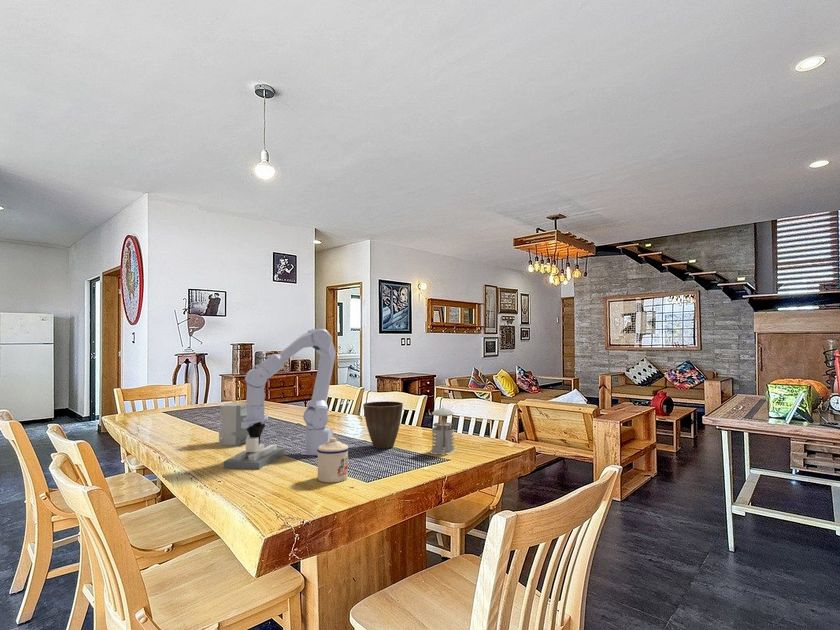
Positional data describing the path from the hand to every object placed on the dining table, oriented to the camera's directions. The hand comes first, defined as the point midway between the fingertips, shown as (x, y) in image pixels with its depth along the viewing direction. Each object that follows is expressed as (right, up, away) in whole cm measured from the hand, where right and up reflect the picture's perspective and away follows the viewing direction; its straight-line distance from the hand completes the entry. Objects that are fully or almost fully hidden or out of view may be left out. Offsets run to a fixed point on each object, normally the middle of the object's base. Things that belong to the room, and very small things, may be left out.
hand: (255, 446), depth 155 cm
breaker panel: (0, -5, +1) cm, 5 cm away
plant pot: (+41, -6, +20) cm, 46 cm away
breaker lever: (0, -3, -2) cm, 3 cm away
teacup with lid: (+30, -4, -18) cm, 35 cm away
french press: (+63, -5, +11) cm, 65 cm away
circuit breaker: (-15, -7, +27) cm, 32 cm away
